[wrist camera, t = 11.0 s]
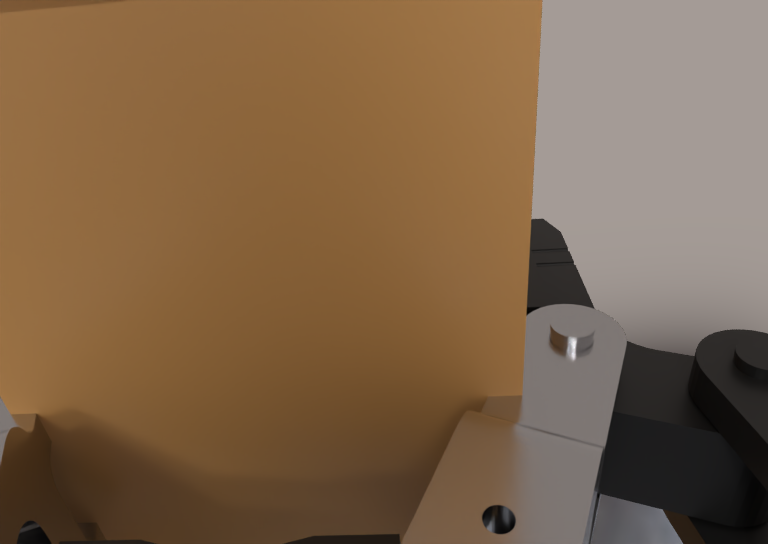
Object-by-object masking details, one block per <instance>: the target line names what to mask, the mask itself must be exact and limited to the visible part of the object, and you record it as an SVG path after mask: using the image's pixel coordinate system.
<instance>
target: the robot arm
mask: <svg viewBox="0 0 768 544" xmlns="http://www.w3.org/2000/svg"><path fill="white" fill-rule="evenodd" d="M51 444H52V441H51V439H50V437H49V436H48V434H47V432H46V430H45V428H44V427H43V425H42V423H41V421H40V419H39V418H38V416H37V414H36V413H34V414H10V412H9V411H8V409H7V407H6V406H5V404H4V402H3V400H2V399H1V397H0V544H156V543H152V542H148V541H144V540H106V539H105V537H104V535H103V533H102V531H101V530H100V528H99V526H98V524H97V522H94V523H76V521H75V519H74V517H73V516H72V514H71V512H70V511H69V509H68V507H67V505H66V504H65V502H64V500H63V499H62V497H61V495H60V493H59V492H58V490H57V487H56V485H55V482H54V479H53V475H52V470H51V462H50V453H51ZM601 494H604V495H608V496H612V497H616V498H620V499H624V500H627V501H631V502H635V503H639V504H643V505H647V506H651V507H655V508H659V509H663V511H664V513H665V514H666V516H667V518H668V520H669V521H670V523H671V525H672V526H673V528H674V529H675V531H676V532H677V534H678V536H679V537H680V539H681V540H682V542H683V544H768V334H767V333H763V332H758V331H752V330H725V331H720V332H716V333H713V334H711V335H708V336H707V337H705V338H704V339H703V340H702V341H701V342H700V343H699V344H698V347H697V349H696V353H695V356H689V355H683V354H677V353H671V352H665V351H659V350H654V349H649V348H645V347H642V346H639V345H636V344H633V343H631V342H628V341H627V338H626V334H625V332H624V330H623V328H622V327H621V326H620V325H619V323H618V322H616V321H615V320H614V319H613V318H612V317H610V316H608V315H607V314H605V313H603V312H601V311H599V310H596V309H594V307H593V304H592V302H591V299H590V297H589V295H588V293H587V291H586V288H585V286H584V284H583V281H582V279H581V277H580V275H579V272H578V270H577V268H576V265H574V261H573V259H572V256H571V254H570V252H569V251H568V247H567V245H566V243H565V241H564V238H563V236H562V234H561V232H560V231H559V230H557V229H556V228H555V227H553V226H552V225H551V224H549V223H548V222H547V221H545V220H544V219H531V234H530V254H529V274H528V293H527V313H526V333H525V352H524V372H523V392H522V395H516V396H489V397H488V398H487V400H486V403H485V405H484V407H483V409H482V411H481V413H480V412H476V411H472V410H468V411H467V412H466V413H465V414H464V415H463V416H462V418H461V419H460V421H459V423H458V425H457V427H456V429H455V431H454V433H453V435H452V438H451V440H450V442H449V444H448V446H447V448H446V450H445V452H444V454H443V456H442V459H441V461H440V463H439V465H438V467H437V469H436V471H435V473H434V475H433V477H432V479H431V482H430V484H429V486H428V488H427V490H426V492H425V494H424V496H423V498H422V500H421V503H420V505H419V507H418V509H417V511H416V513H415V515H414V517H413V519H412V521H411V524H410V526H409V528H408V530H407V532H406V534H405V536H404V538H403V540H402V542H400V534H373V535H326V536H311V537H307V538H303V539H299V540H295V541H291V542H287V543H284V544H591V542H592V537H593V532H594V527H595V522H596V517H597V512H598V507H599V502H600V497H601Z"/></svg>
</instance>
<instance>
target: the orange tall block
mask: <svg viewBox="0 0 768 544" xmlns="http://www.w3.org/2000/svg"><path fill="white" fill-rule="evenodd" d="M541 18H542V0H0V397H1V399H2V400H3V402H4V404H5V406H6V407H7V409H8V411H9V412H10V414H34V413H36V414H37V416H38V418H39V419H40V421H41V423H42V425H43V427H44V428H45V430H46V432H47V434H48V436H49V437H50V439H51V441H52V444H51V453H50V462H51V470H52V475H53V479H54V482H55V485H56V487H57V490H58V492H59V493H60V495H61V497H62V499H63V500H64V502H65V504H66V505H67V507H68V509H69V511H70V512H71V514H72V516H73V517H74V519H75V521H76V523H94V522H97V524H98V526H99V528H100V530H101V531H102V533H103V535H104V537H105V539H106V540H144V541H148V542H152V543H156V544H284V543H287V542H291V541H295V540H299V539H303V538H307V537H311V536H326V535H373V534H400V542H402V540H403V538H404V536H405V534H406V532H407V530H408V528H409V526H410V524H411V521H412V519H413V517H414V515H415V513H416V511H417V509H418V507H419V505H420V503H421V500H422V498H423V496H424V494H425V492H426V490H427V488H428V486H429V484H430V482H431V479H432V477H433V475H434V473H435V471H436V469H437V467H438V465H439V463H440V461H441V459H442V456H443V454H444V452H445V450H446V448H447V446H448V444H449V442H450V440H451V438H452V435H453V433H454V431H455V429H456V427H457V425H458V423H459V421H460V419H461V418H462V416H463V415H464V414H465V413H466V412H467V411H468V410H472V411H476V412H480V413H481V411H482V409H483V407H484V405H485V403H486V400H487V398H488V397H489V396H516V395H522V392H523V372H524V352H525V333H526V313H527V293H528V274H529V254H530V234H531V214H532V195H533V175H534V156H535V136H536V116H537V97H538V76H539V57H540V38H541V37H540V36H541Z"/></svg>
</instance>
